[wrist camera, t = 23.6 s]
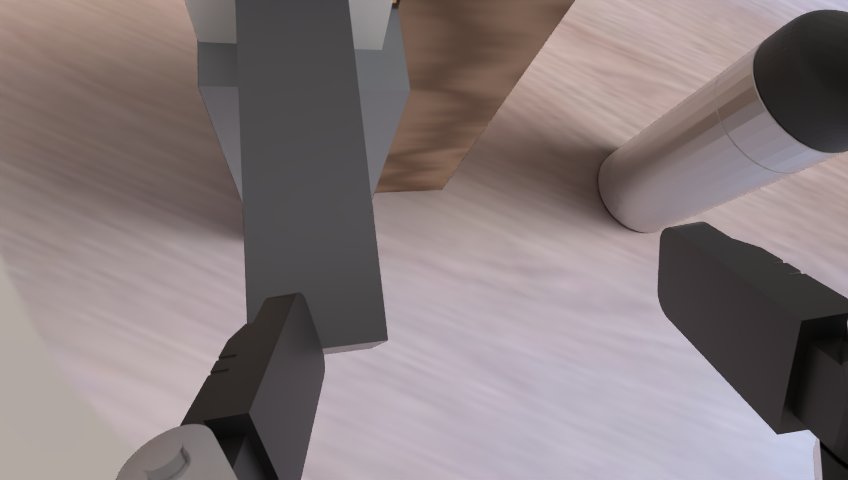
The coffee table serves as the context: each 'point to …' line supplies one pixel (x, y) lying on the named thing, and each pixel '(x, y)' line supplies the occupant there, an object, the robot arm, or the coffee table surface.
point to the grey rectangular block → (377, 87)
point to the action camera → (305, 157)
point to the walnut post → (459, 79)
